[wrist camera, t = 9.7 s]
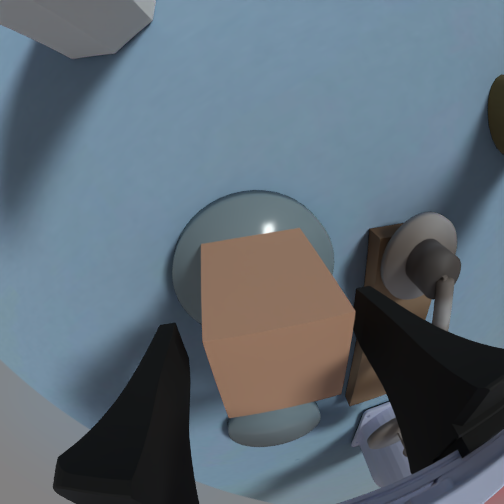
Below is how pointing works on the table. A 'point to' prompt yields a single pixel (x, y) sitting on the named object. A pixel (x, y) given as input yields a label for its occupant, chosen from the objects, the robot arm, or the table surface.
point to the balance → (406, 293)
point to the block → (273, 322)
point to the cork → (497, 112)
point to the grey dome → (239, 235)
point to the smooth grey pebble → (274, 425)
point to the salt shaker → (78, 23)
